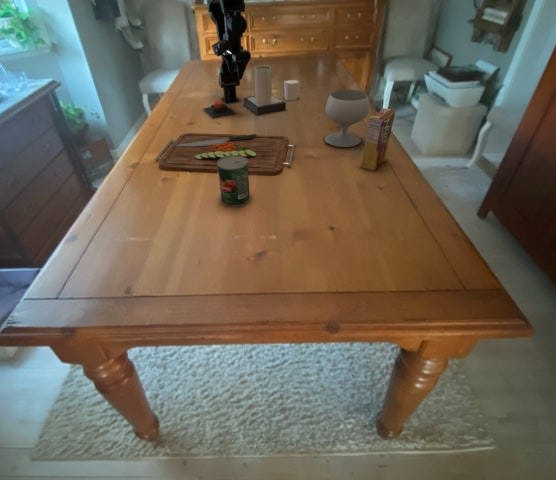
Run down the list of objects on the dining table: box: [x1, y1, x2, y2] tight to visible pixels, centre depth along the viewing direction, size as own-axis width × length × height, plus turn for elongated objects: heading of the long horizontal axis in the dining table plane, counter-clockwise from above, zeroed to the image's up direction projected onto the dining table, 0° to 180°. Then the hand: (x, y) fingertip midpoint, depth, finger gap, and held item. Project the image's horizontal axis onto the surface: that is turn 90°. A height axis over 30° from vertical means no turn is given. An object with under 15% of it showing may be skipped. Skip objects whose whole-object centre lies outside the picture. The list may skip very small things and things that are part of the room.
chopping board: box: [154, 132, 296, 176], centre depth 116 cm, size 45×27×3 cm, turn 80°
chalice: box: [324, 89, 370, 148], centre depth 116 cm, size 14×14×15 cm
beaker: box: [253, 64, 273, 105], centre depth 140 cm, size 7×7×13 cm
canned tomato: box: [217, 155, 251, 208], centre depth 92 cm, size 8×8×11 cm
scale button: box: [213, 100, 224, 108], centre depth 146 cm, size 4×4×2 cm
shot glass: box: [283, 79, 300, 101], centre depth 155 cm, size 7×7×7 cm
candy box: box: [360, 107, 396, 171], centre depth 103 cm, size 9×4×15 cm, turn 140°
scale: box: [242, 94, 287, 117], centre depth 148 cm, size 15×13×3 cm
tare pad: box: [202, 103, 236, 119], centre depth 147 cm, size 12×10×2 cm
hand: (235, 76), depth 140 cm, fingers open, 9 cm apart
